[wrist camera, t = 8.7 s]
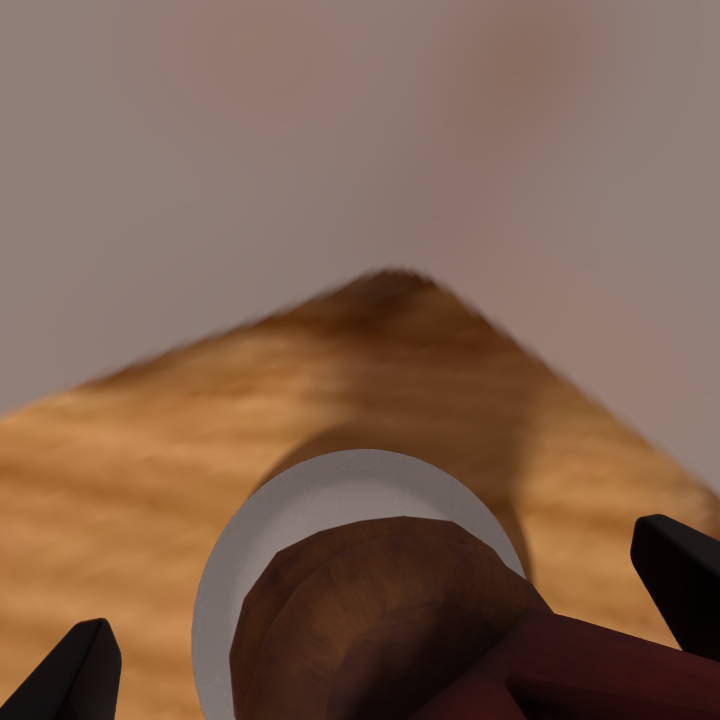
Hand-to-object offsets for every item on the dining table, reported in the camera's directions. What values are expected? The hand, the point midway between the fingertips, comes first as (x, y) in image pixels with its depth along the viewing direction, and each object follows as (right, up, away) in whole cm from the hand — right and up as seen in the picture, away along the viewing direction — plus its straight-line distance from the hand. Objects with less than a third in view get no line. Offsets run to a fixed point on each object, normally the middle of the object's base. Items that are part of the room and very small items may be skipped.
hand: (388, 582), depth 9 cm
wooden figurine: (0, -5, +8) cm, 9 cm away
